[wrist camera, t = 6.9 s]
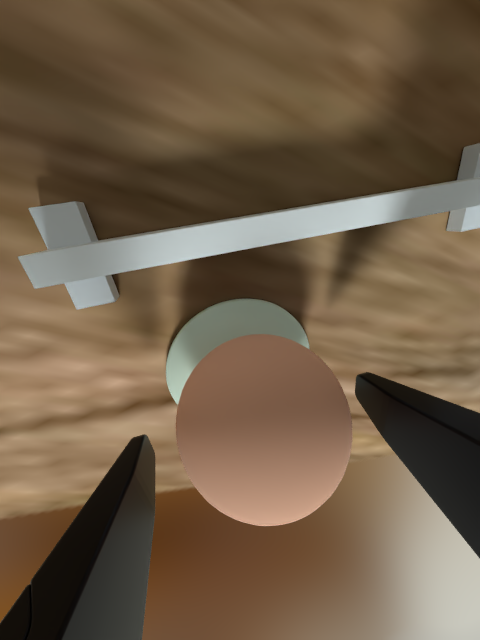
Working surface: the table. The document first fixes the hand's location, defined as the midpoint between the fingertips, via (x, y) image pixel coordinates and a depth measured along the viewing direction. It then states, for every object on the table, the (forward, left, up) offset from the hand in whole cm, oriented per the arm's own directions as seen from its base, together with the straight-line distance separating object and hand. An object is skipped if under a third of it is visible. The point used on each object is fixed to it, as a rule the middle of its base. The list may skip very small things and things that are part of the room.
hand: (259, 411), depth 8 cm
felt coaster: (0, 0, -3) cm, 3 cm away
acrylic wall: (-3, -6, -3) cm, 7 cm away
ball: (0, 0, -2) cm, 2 cm away
